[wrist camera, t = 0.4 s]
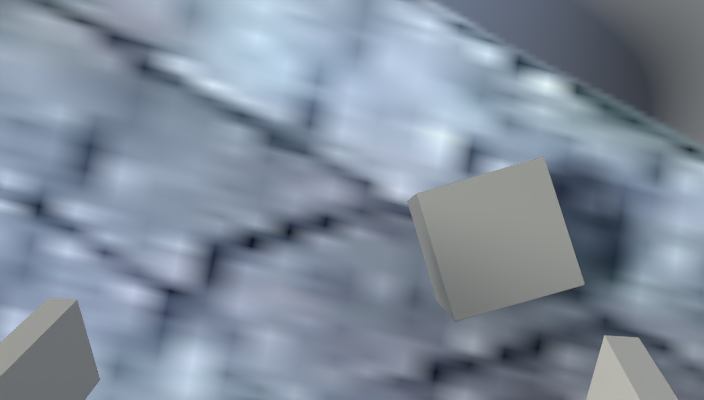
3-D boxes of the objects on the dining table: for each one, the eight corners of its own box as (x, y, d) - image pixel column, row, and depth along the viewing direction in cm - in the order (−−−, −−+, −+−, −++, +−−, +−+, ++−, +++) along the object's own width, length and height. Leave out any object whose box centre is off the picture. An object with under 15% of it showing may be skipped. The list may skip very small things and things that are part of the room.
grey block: (538, 272, 28) (584, 284, 22) (437, 302, 28) (455, 321, 22) (507, 172, 28) (543, 156, 22) (407, 201, 28) (416, 193, 22)
